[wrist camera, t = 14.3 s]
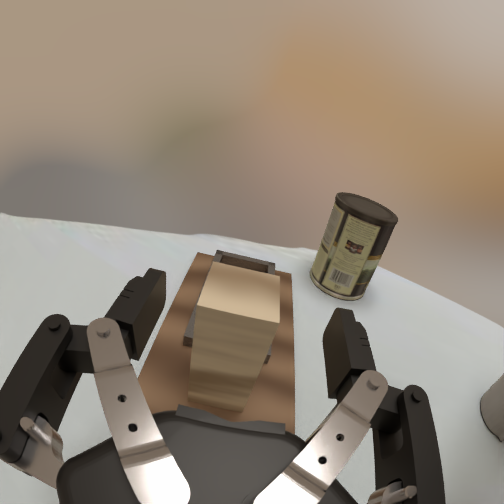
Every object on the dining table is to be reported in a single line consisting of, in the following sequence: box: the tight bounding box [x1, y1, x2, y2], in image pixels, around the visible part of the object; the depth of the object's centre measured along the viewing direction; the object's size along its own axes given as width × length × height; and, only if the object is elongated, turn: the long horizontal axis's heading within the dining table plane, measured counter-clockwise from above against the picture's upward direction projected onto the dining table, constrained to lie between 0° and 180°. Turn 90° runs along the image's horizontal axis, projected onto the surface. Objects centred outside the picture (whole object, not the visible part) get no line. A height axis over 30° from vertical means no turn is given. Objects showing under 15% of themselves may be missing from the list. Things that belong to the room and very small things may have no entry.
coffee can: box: [310, 192, 398, 300], centre depth 43 cm, size 10×10×14 cm
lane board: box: [138, 250, 295, 434], centre depth 31 cm, size 28×15×2 cm, turn 175°
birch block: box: [188, 261, 280, 412], centre depth 21 cm, size 5×5×12 cm
